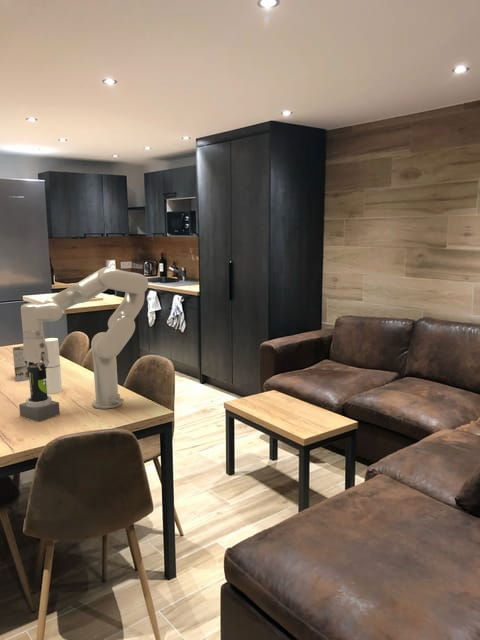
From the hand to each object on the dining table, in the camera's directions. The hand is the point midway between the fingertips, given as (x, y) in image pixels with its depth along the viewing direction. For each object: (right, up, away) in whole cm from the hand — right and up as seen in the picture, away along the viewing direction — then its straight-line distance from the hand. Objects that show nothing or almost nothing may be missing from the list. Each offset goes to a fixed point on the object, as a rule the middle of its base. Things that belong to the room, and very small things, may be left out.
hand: (37, 377), depth 202 cm
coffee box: (-31, -7, +56) cm, 64 cm away
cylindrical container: (-6, -11, +34) cm, 36 cm away
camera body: (0, -16, +3) cm, 16 cm away
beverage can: (0, -10, +2) cm, 10 cm away
